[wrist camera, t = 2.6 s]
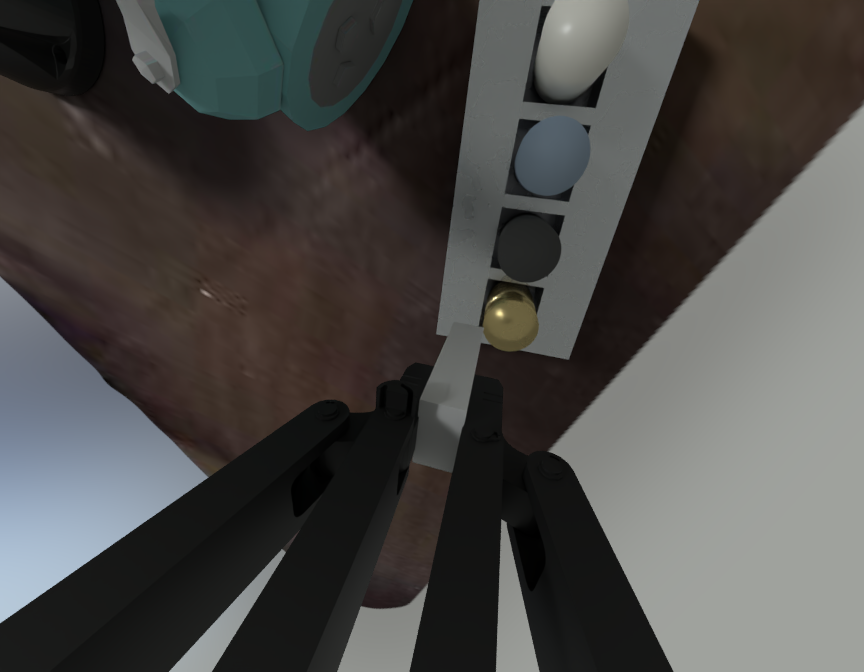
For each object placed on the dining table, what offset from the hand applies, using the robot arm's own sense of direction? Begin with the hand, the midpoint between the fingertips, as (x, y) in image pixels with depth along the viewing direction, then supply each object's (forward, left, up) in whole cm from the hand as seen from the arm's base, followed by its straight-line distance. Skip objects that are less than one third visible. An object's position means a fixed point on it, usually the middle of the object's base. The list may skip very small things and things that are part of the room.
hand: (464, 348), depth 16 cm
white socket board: (+3, +6, -19) cm, 20 cm away
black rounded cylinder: (+3, +3, -16) cm, 16 cm away
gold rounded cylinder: (+3, -3, -16) cm, 16 cm away
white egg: (+3, +15, -16) cm, 22 cm away
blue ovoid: (+3, +9, -16) cm, 19 cm away
